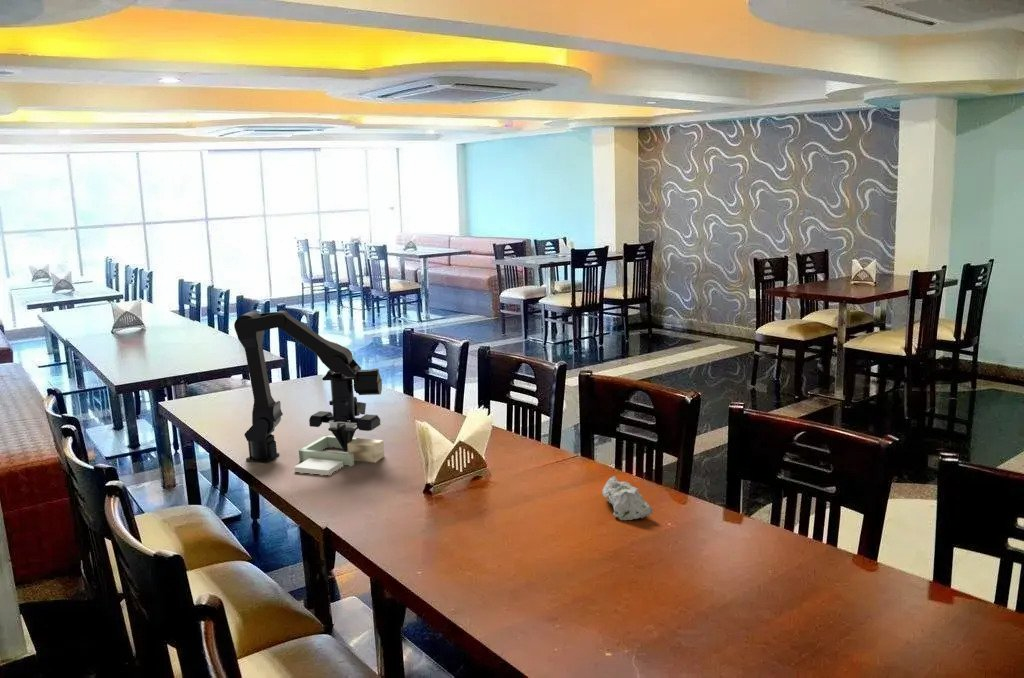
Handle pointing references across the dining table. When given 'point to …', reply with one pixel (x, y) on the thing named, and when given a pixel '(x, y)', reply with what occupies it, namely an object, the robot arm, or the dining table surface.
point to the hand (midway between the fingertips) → (346, 451)
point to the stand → (318, 466)
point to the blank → (366, 449)
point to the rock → (625, 500)
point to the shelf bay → (316, 451)
